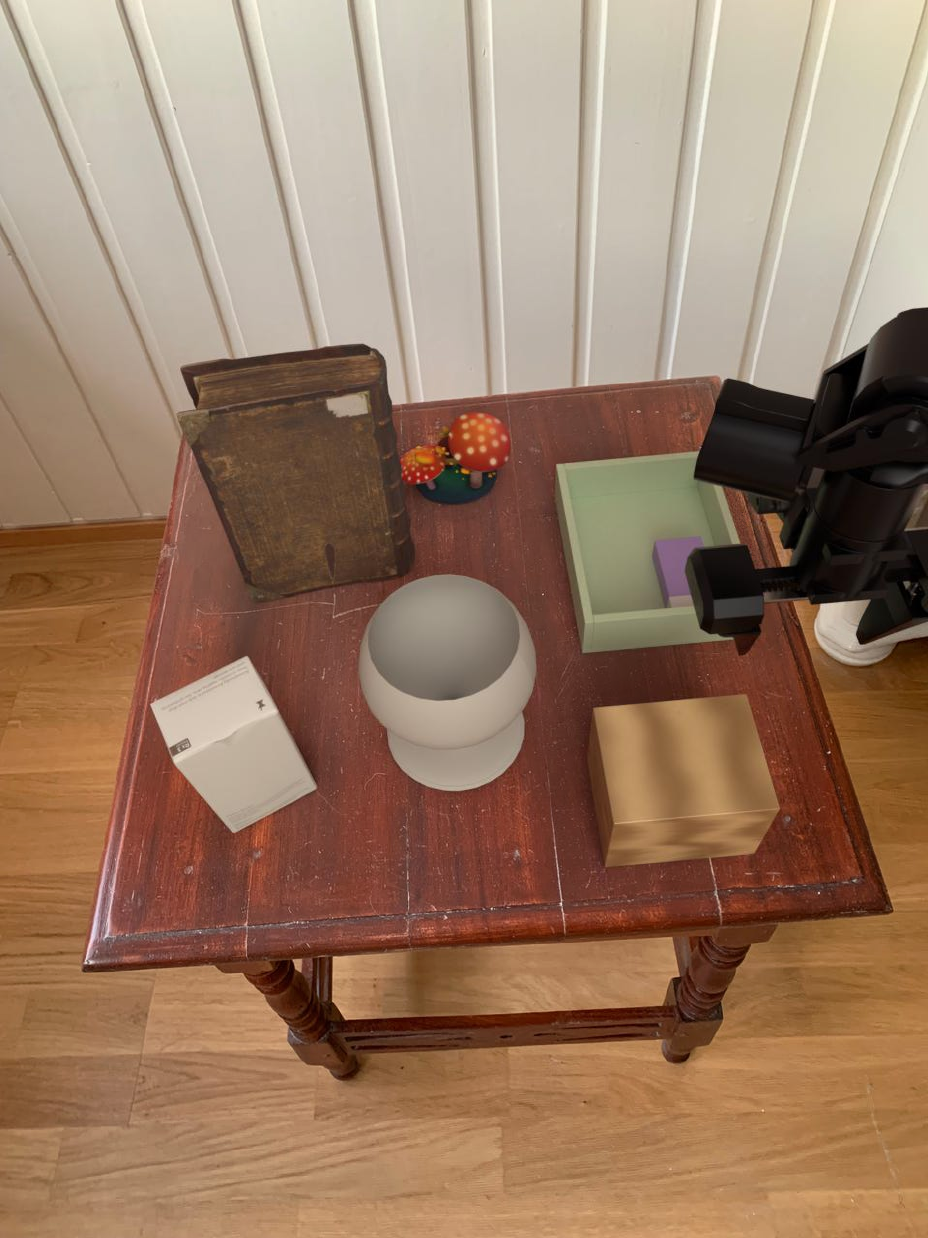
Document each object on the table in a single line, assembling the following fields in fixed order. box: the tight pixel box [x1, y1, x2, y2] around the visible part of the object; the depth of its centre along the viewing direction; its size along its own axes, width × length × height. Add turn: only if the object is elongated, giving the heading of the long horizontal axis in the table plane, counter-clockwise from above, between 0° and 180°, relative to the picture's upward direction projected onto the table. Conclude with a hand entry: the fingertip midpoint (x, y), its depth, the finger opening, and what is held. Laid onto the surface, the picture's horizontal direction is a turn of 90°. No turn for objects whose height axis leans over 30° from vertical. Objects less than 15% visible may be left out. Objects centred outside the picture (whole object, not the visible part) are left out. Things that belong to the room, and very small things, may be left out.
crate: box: [586, 693, 781, 868], centre depth 71 cm, size 12×10×9 cm
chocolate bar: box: [652, 536, 704, 608], centre depth 85 cm, size 5×9×2 cm, turn 4°
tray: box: [554, 450, 741, 654], centre depth 87 cm, size 16×20×5 cm
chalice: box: [358, 573, 537, 792], centre depth 74 cm, size 14×14×15 cm
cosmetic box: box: [149, 655, 318, 834], centre depth 71 cm, size 8×6×15 cm
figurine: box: [399, 411, 512, 505], centre depth 94 cm, size 12×9×8 cm
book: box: [176, 343, 416, 603], centre depth 81 cm, size 17×7×25 cm, turn 93°
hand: (799, 645), depth 69 cm, fingers open, 9 cm apart
